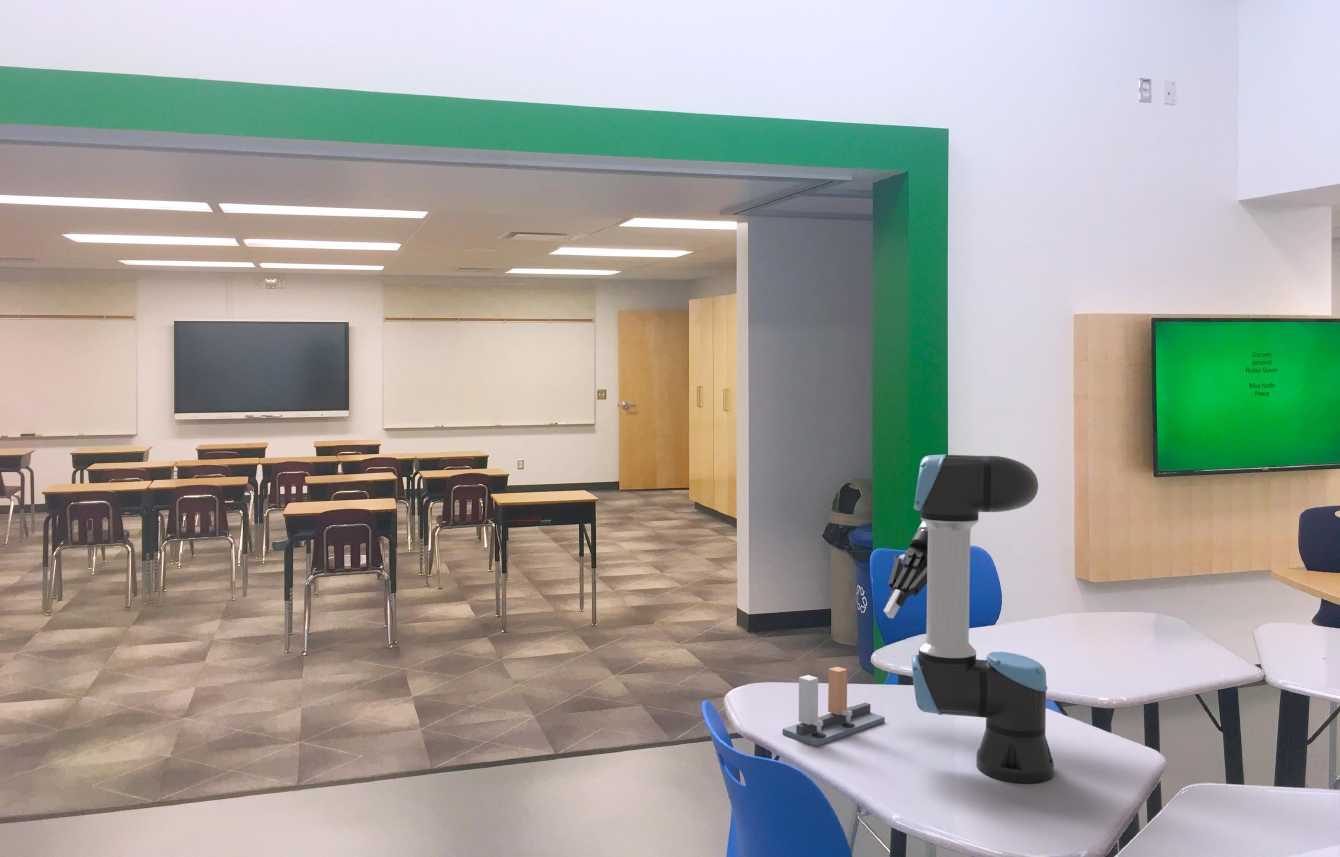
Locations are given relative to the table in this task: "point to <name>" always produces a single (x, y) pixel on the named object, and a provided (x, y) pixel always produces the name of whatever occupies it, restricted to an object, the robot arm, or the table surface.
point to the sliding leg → (838, 692)
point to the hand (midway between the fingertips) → (888, 614)
